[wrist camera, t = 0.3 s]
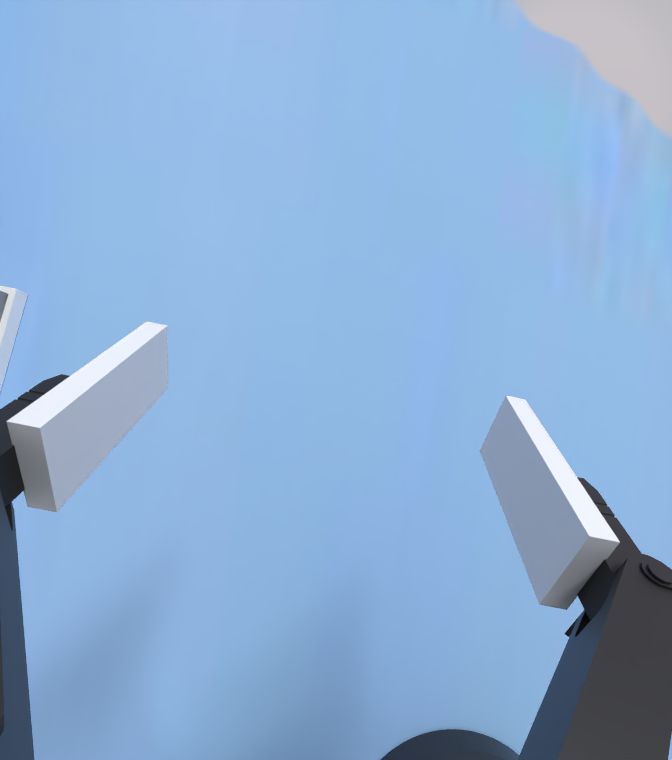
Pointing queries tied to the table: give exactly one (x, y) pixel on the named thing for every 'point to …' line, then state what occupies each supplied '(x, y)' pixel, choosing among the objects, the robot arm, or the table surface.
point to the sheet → (10, 325)
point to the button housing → (2, 302)
